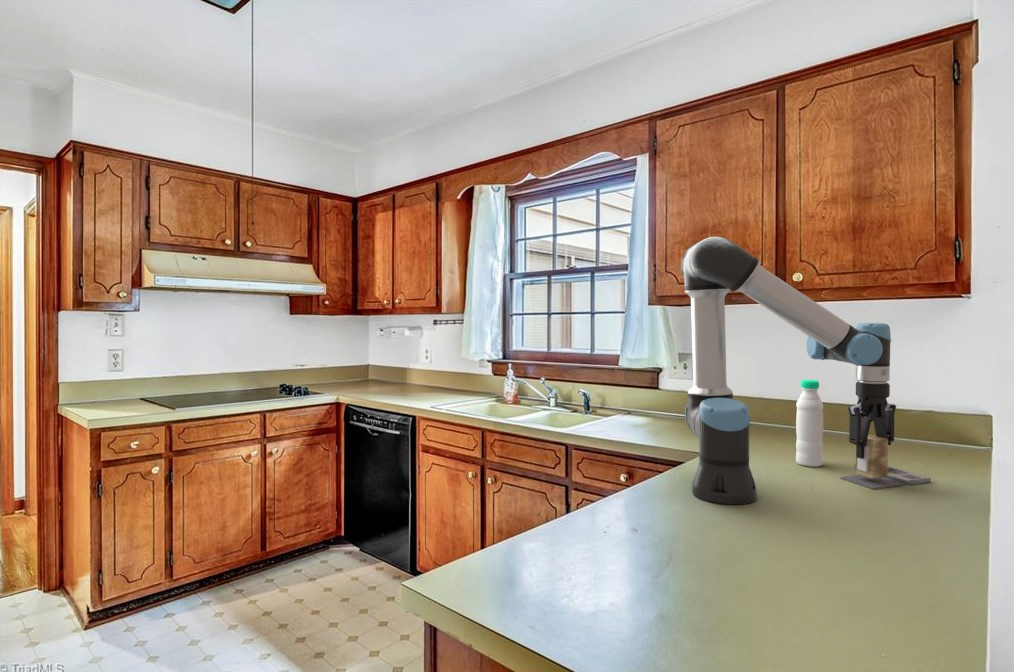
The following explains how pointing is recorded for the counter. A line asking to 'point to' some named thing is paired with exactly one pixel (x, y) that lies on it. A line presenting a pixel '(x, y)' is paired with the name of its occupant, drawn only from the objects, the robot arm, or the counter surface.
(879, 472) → the peg
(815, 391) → the white bottle
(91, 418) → the counter surface
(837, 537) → the counter surface
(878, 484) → the mat
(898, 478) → the plate with rectangular hole
